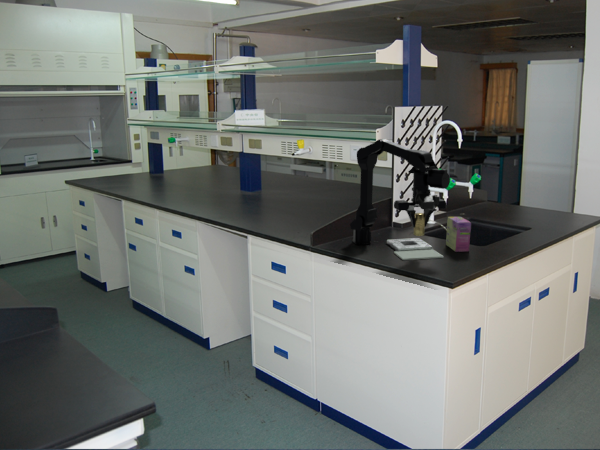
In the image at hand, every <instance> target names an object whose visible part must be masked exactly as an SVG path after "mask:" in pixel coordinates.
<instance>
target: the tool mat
mask: <svg viewBox="0 0 600 450" xmlns="http://www.w3.org/2000/svg"><path fill="white" fill-rule="evenodd" d="M393 254H395V255H396V256H397V257H398V258H399V259H401V260H402V261H413V260H428V259H429V260H431V259H444V255H443V254H441V253H439V252H438V251H437V250H435V249H434V248H432V249H427V250H411V251H396V250H395V251H393Z"/></svg>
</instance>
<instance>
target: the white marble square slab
mask: <svg viewBox="0 0 600 450" xmlns="http://www.w3.org/2000/svg"><path fill="white" fill-rule="evenodd" d="M386 244H387V245H388V246H390V247H391V248H392V249H394V250H395V251H411V250H427V249H433V246H432V245H430V244H429V243H427V242H426V241H424V240H423V239H421V238H420V237H412V238H411V237H410V238H409V237H408V238H396V239H395V238H394V239H387V240H386Z"/></svg>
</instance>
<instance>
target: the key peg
mask: <svg viewBox="0 0 600 450" xmlns="http://www.w3.org/2000/svg"><path fill="white" fill-rule="evenodd" d="M425 228H426V227H425V214H424V212H415V227H413V236H416V237H423V236H425V230H426V229H425Z"/></svg>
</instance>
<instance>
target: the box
mask: <svg viewBox="0 0 600 450" xmlns="http://www.w3.org/2000/svg"><path fill="white" fill-rule="evenodd" d="M471 229H472V222H470V221H469V220H468V219H466V218H464V217H462V216H447V224H446V239H445V244H446V246H447V247H449V248H450V249H451V250H452V251H454V252H456V253H457V252H458V253H462V252H465V253H466V252H469V251H470V241H471V239H470V238H471Z"/></svg>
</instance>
